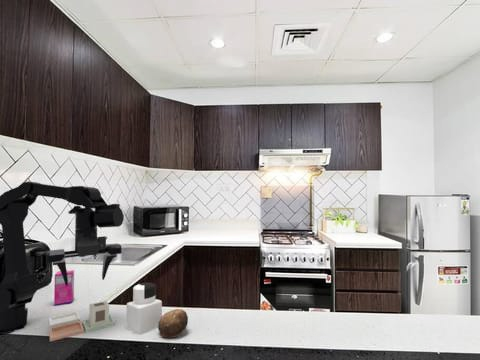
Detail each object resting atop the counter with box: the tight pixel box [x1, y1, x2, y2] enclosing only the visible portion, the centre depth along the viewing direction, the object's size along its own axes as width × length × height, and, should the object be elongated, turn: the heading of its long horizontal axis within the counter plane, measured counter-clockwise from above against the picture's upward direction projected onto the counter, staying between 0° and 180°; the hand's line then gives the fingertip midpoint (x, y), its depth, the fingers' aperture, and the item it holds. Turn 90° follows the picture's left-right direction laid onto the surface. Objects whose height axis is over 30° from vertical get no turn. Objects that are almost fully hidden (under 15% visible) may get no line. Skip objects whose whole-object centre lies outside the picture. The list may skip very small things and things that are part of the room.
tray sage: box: [81, 313, 116, 333], centre depth 78 cm, size 8×8×1 cm
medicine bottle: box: [125, 282, 163, 335], centre depth 76 cm, size 7×7×12 cm
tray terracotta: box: [49, 320, 85, 342], centre depth 73 cm, size 8×8×1 cm
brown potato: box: [157, 308, 189, 339], centre depth 71 cm, size 8×8×6 cm
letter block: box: [88, 300, 110, 327], centre depth 78 cm, size 4×5×6 cm
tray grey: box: [48, 311, 81, 330], centre depth 81 cm, size 8×8×1 cm
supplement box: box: [53, 268, 75, 307], centre depth 101 cm, size 6×6×12 cm
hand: (85, 282), depth 77 cm, fingers open, 9 cm apart
